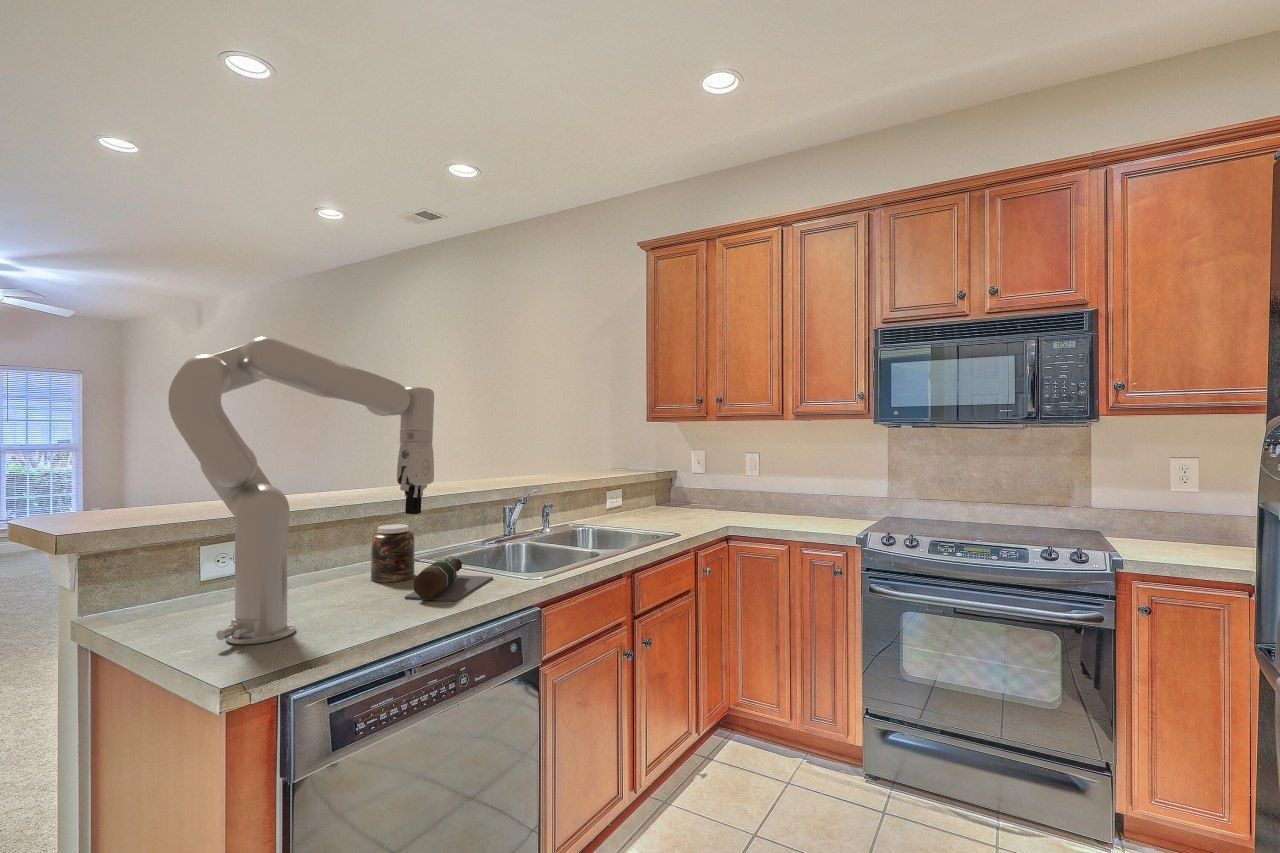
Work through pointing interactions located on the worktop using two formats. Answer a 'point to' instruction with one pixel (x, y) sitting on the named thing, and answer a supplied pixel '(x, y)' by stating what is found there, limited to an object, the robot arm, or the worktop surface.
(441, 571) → the beer bottle
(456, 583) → the mat
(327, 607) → the worktop surface
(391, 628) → the worktop surface
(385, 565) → the jar
